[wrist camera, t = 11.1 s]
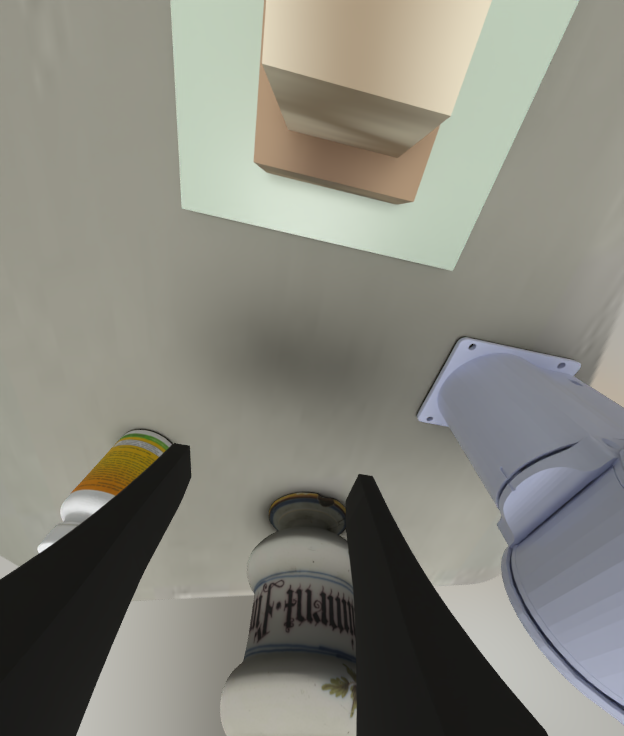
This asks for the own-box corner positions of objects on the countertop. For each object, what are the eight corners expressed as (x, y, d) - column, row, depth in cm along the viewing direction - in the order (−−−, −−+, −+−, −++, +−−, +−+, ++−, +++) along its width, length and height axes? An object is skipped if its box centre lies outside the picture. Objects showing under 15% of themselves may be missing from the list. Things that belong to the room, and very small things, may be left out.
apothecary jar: (374, 499, 29) (434, 823, 13) (336, 547, 35) (347, 810, 19) (272, 475, 27) (206, 810, 12) (250, 529, 33) (188, 800, 18)
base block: (461, -2, 10) (509, -77, 7) (396, 204, 14) (413, 201, 11) (287, -56, 10) (274, -158, 7) (267, 172, 13) (253, 161, 10)
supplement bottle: (113, 427, 25) (5, 536, 16) (167, 427, 24) (85, 538, 16) (135, 464, 27) (52, 573, 19) (183, 465, 27) (122, 575, 19)
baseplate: (589, -50, 10) (614, -76, 9) (445, 268, 16) (452, 270, 15) (173, -192, 9) (157, -236, 8) (189, 209, 15) (181, 208, 14)
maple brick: (450, -22, 8) (598, -299, 4) (397, 158, 10) (450, 115, 6) (310, -67, 8) (294, -429, 3) (288, 129, 10) (261, 63, 6)
